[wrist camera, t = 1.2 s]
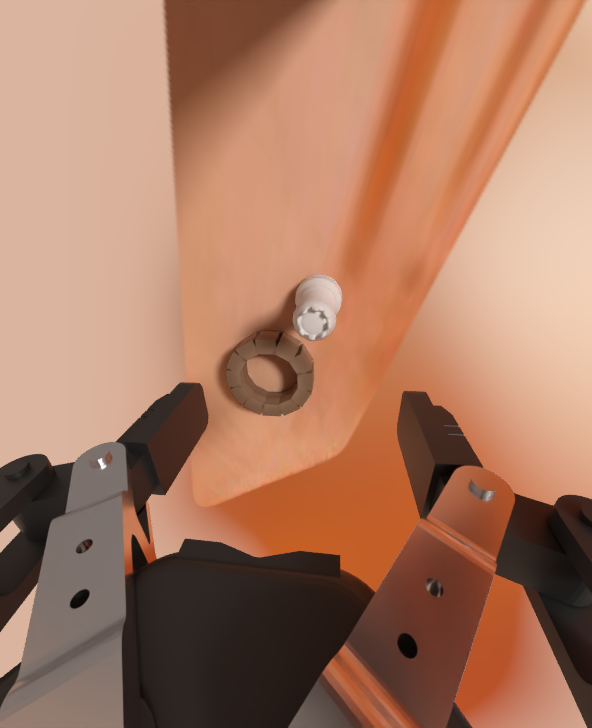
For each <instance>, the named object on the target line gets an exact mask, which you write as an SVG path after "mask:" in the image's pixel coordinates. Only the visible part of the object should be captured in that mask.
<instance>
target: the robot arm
mask: <svg viewBox="0 0 592 728" xmlns="http://www.w3.org/2000/svg"><path fill="white" fill-rule="evenodd" d="M207 424H208V411H207V407H206V402H205V397H204V393H203V388H202V386H201V384H200V383H184V382H183V383H179V384H178V385H177V386H176V387H175V388H174V389H173V391H172V392H171V393H170V394H166V395H165V396H163V397H161V398H160V399H158V400H156V401H155V402H154V403H153V404H152V405H151V406H150V407H149V408H148V410H147V411H145V413H143V414H142V416H141V418H139V419H138V420H137V421H136V422H135V423H134V424H133V425H132V426H131V427H130V428H129V429H128V430H127V431H126V432H125V433H124V434H123V435H122V436H121V437H120V438H119V439H118V440H117V441H116V442H109V443H104V444H101V445H98V446H95V447H93V448H91V449H90V450H88V451H86V452H85V453H83V454H82V455H81V456H80V457H79V458H78V459H77V460H76V462H73V463H67V464H62V465H56V466H52V465H51V463H50V462H49V460H48V458H47V457H46V456H45V455H42V454H33V455H28V456H24V457H22V458H19V459H16V460H14V461H12V462H10V463H8V464H6V465H4V466H3V467H1V468H0V532H1V531H2V530H3V529H4V528H5V527H6V526H7V525H8V524H9V523H10V522H11V521H12V520H13V521H14V522H15V524H16V525H17V527H18V528H19V529H20V530H21V531H20V533H19V534H18V535H17V536H16V537H15V538H14V539H13V540H12V541H11V542H10V543H9V544H8V545H7V546H6V548H4V549H3V551H2V552H1V553H0V632H1V630H2V629H3V628H4V626H5V625H6V624H7V622H8V621H9V620H10V619H11V617H12V616H13V614H14V613H15V612H16V611H17V609H18V608H19V607H20V605H21V604H22V603H23V601H24V600H25V599H26V598H27V596H28V595H29V594H30V592H31V591H32V590H33V588H34V587H35V586H36V584H37V583H38V585H37V590H36V594H35V599H34V604H33V609H32V614H31V618H30V623H29V629H28V633H27V638H26V643H25V648H24V652H23V657H22V662H20V663H19V664H18V665H17V666H15V667H14V668H13V669H12V670H10V671H9V672H8V673H6V674H5V675H4V676H3V677H1V678H0V728H472V726H471V725H470V724H469V722H468V721H467V719H466V718H465V716H464V715H463V714H462V712H461V711H460V709H459V708H458V706H457V705H456V704H455V702H454V701H455V698H456V695H457V692H458V689H459V685H460V682H461V678H462V676H463V672H464V669H465V666H466V663H467V660H468V657H469V654H470V651H471V647H472V644H473V641H474V638H475V635H476V631H477V628H478V625H479V622H480V619H481V616H482V613H483V609H484V606H485V603H486V600H487V597H488V594H489V590H490V587H491V584H492V581H493V578H494V575H495V574H497V575H499V576H501V577H504V578H506V579H508V580H511V581H513V582H516V583H518V584H521V585H523V587H524V589H525V591H526V594H527V596H528V598H529V600H530V602H531V604H532V607H533V609H534V611H535V613H536V616H537V618H538V620H539V622H540V624H541V627H542V629H543V631H544V633H545V635H546V637H547V640H548V642H549V644H550V646H551V648H552V651H553V653H554V655H555V657H556V660H557V662H558V664H559V666H560V668H561V670H562V673H563V675H564V677H565V679H566V682H567V684H568V686H569V688H570V690H571V692H572V695H573V697H574V699H575V701H576V704H577V706H578V708H579V710H580V712H581V714H582V717H583V719H584V721H585V723H586V726H587V728H592V499H589V498H586V497H582V496H577V495H564V496H561V497H560V498H558V500H557V501H556V503H555V504H554V506H553V505H549V504H546V503H543V502H539V501H536V500H533V499H530V498H526V497H523V496H520V495H518V494H515V493H514V492H513V490H512V489H511V487H510V486H509V485H508V484H507V482H506V481H504V480H503V479H502V478H501V477H500V476H498V475H497V474H495V473H493V472H491V471H489V470H487V469H484V468H483V466H482V464H481V463H480V461H479V459H478V458H477V456H476V454H475V452H474V451H473V449H472V448H471V446H470V444H469V442H468V441H467V439H466V437H465V436H464V434H463V432H462V431H461V429H460V428H459V427H458V424H457V422H456V420H455V419H454V417H453V415H452V414H450V413H449V412H448V411H447V410H446V409H444V408H443V407H442V406H433V404H432V403H431V401H430V399H429V397H428V395H427V393H426V392H416V391H404V392H403V395H402V400H401V406H400V412H399V418H398V424H397V434H398V441H399V445H400V448H401V451H402V455H403V459H404V462H405V466H406V469H407V473H408V476H409V479H410V484H411V487H412V491H413V494H414V498H415V501H416V505H417V508H418V512H419V515H420V519H421V520H420V521H419V522H418V524H417V526H416V527H415V529H414V531H413V532H412V534H411V535H410V537H409V539H408V540H407V542H406V544H405V545H404V547H403V549H402V550H401V552H400V554H399V555H398V557H397V558H396V560H395V562H394V563H393V565H392V567H391V568H390V570H389V572H388V573H387V575H386V577H385V578H384V580H383V581H382V583H381V585H380V586H379V588H378V590H377V591H376V592H374V591H373V590H372V589H371V588H370V587H369V586H368V585H367V584H365V583H364V582H363V581H361V580H360V579H359V578H357V577H355V576H354V575H352V574H350V573H348V572H346V571H344V570H341V569H340V555H332V554H323V553H313V552H304V551H297V552H291V553H285V554H279V555H273V556H268V557H262V558H258V557H253V556H251V555H249V554H246V553H244V552H242V551H239V550H237V549H235V548H233V547H230V546H228V545H226V544H223V543H221V542H212V541H202V540H193V539H185V540H184V542H183V544H182V546H181V548H180V550H179V552H177V553H173V554H169V555H166V556H164V557H161V558H159V559H156V554H155V548H154V541H153V533H152V526H151V517H150V510H149V505H148V502H147V500H148V498H149V497H150V496H151V494H156V495H166V493H167V491H168V490H169V488H170V486H171V485H172V483H173V481H174V480H175V478H176V476H177V475H178V473H179V472H180V470H181V468H182V467H183V465H184V463H185V462H186V460H187V458H188V457H189V455H190V454H191V452H192V450H193V449H194V447H195V445H196V444H197V442H198V441H199V439H200V437H201V436H202V434H203V432H204V431H205V429H206V427H207Z"/></svg>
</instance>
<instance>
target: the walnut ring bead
mask: <svg viewBox="0 0 592 728" xmlns="http://www.w3.org/2000/svg"><path fill="white" fill-rule="evenodd" d="M299 345H300V341H299V340H297V339H295V338H293V337H292V336H290V335H288V334H286V333H284V332H283V334H282V336H281V338H280V331H261V332H260V333H258V332H256V333H255V334H253V335H251V336H249V337H248V338H246V339H244V340H243V341H242V342H241V343H240V344H239V345H238V347H237V348H236V349H235V350H234V352H233V353H232V356H231V358H230V360H229V362H228V364H227V366H226V368H227V369H226V377H227V383H228V387H231V389H230V392H231V393H232V394H233V395H234V397H235V398H236V399H237V400H238V402H239V403H240V404H242V403H244V402H245V404H244V407H246V408H248V409H250V410H252V411H254V412H256V413H258V414H260V413H261V411H262V412H263V415H266V416H281V413H282V414H283V415H287V414H289V413H291V412H294V411H296V410H298V409H300V406H301V407H302V406H303V405H304V403H305V402H306V401H307V399H308V398H309V396H310V395H311V392H312V389H313V381H314V362H312V361H313V358H312V357H311V355H310V354H309V352H308V351H307V349H306V347H305V346H304V344H302V345H300V346H299ZM258 354H275V355H276V356H278V357H280V358H282V359H284V360H286V361H288V362H289V363H290V365H291V366H292V368H293V369H294V371H295V372H296V374H297V380H298V381H297V382H296V384H295V386H294V387H292V388H290V389H288V390H286V391H284V392H268V391H266V390H264V389H262V388H260V387H258V386H256V385H255V384H254V382H253V381H252V380H251V378H250V377H249V375H248V371H247V363H246V362H247V360H248V359H250V358H252V357H254V356H256V355H258Z"/></svg>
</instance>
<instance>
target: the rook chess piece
mask: <svg viewBox="0 0 592 728" xmlns="http://www.w3.org/2000/svg"><path fill="white" fill-rule="evenodd" d="M341 303H342V293H341V288H340V287H339V285H338V284H337V282H336V281H335V280H334V279H332V278H330V277H329V276H327V275H320V274H316V275H313V276H309V277H307V278H306V279H305V280H303V281H302V282H301V283H300V285H299V287H298V289H297V291H296V296H295V304H296V309H295V311H294V313H293V320H292V322H293V325H294V328H295V330H296V331H297V333H298V334H299V335H300V336H302V337H303V338H305V339H307V340H311V341H317V340H321V339H324V338H326V337H327V336H329V335H330V334H331V333H332V331H333V330H334V328H335V325H336V314H337V313H338V311H339V310H340V308H341Z"/></svg>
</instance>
